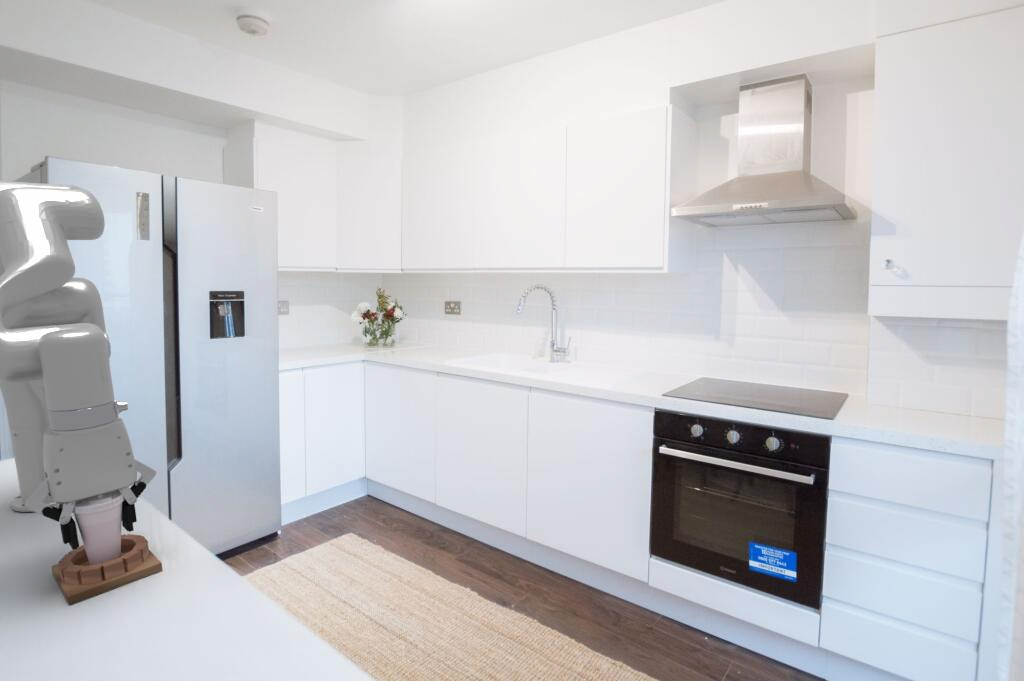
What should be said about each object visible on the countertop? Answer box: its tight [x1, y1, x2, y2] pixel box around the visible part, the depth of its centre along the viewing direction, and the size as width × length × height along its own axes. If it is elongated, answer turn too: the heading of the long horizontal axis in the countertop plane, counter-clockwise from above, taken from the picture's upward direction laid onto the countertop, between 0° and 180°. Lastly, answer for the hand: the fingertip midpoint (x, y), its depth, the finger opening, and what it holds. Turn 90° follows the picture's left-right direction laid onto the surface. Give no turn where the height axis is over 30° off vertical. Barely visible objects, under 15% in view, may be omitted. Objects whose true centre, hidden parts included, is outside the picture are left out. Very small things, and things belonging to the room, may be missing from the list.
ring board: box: [51, 533, 163, 606], centre depth 84 cm, size 12×11×3 cm
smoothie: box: [72, 490, 125, 565], centre depth 83 cm, size 6×6×14 cm
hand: (101, 535), depth 83 cm, fingers closed on smoothie, 6 cm apart
